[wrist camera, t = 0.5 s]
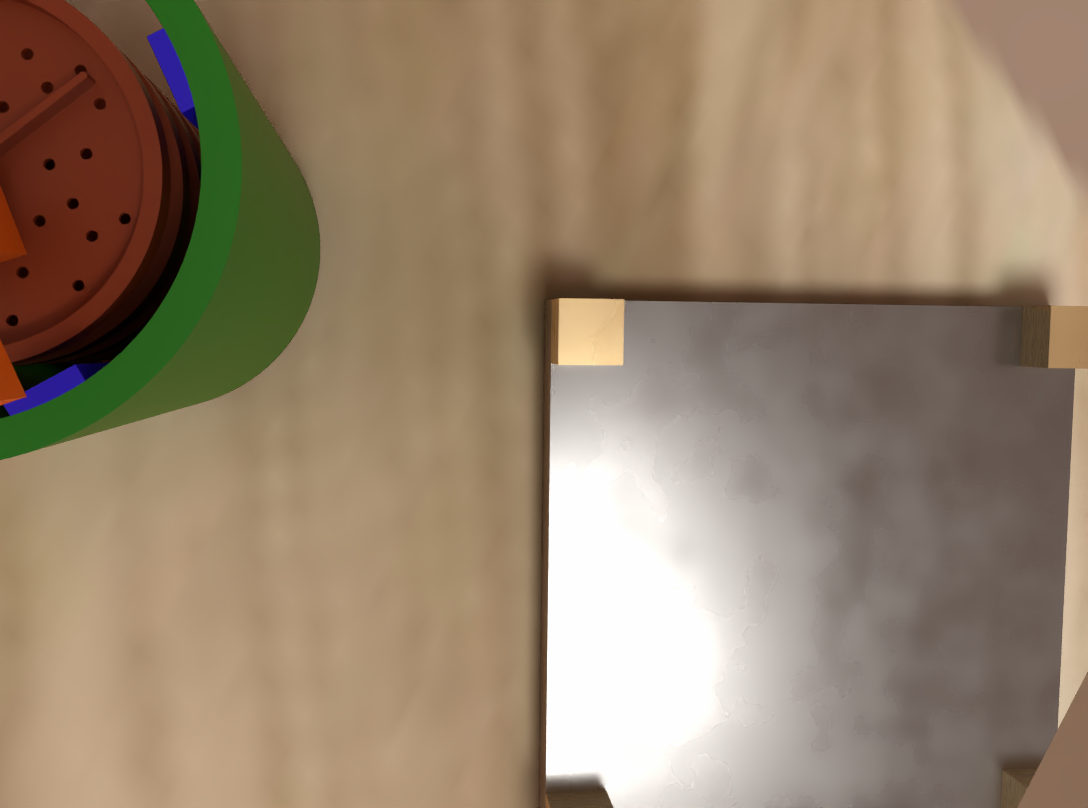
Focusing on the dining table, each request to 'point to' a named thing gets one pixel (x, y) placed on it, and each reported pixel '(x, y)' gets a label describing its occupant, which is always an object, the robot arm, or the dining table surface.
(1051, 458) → the plate
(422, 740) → the dining table surface
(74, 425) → the motor
